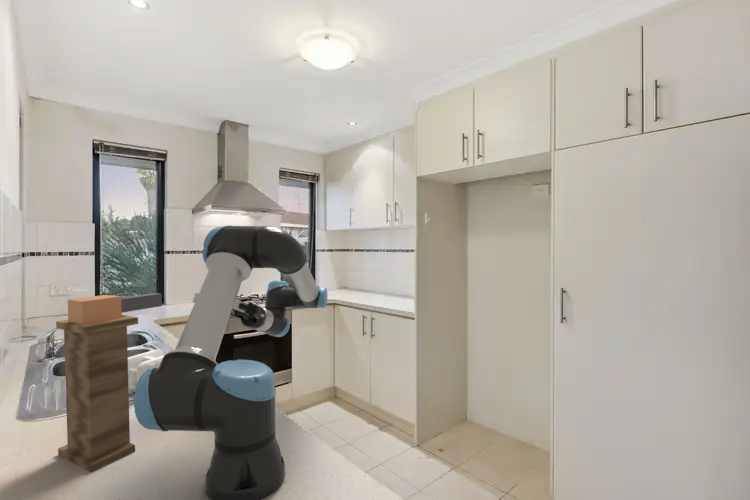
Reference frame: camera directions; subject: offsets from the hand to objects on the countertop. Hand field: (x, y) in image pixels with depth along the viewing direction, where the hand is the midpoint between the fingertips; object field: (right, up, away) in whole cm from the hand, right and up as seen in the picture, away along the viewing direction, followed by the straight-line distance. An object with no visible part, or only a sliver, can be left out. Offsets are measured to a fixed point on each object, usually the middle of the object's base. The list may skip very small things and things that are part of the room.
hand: (212, 299), depth 113 cm
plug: (-14, -1, -19) cm, 24 cm away
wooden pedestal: (-16, -32, -23) cm, 43 cm away
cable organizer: (-24, -31, +13) cm, 42 cm away
